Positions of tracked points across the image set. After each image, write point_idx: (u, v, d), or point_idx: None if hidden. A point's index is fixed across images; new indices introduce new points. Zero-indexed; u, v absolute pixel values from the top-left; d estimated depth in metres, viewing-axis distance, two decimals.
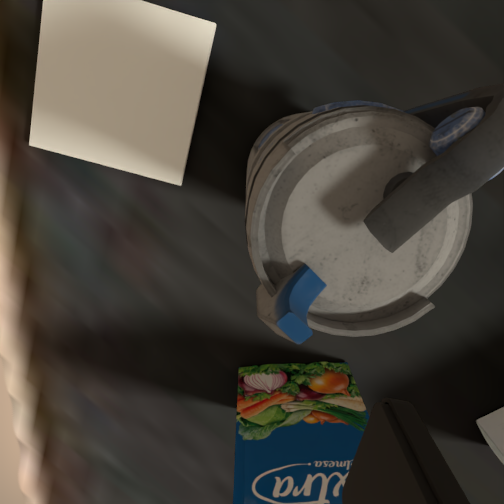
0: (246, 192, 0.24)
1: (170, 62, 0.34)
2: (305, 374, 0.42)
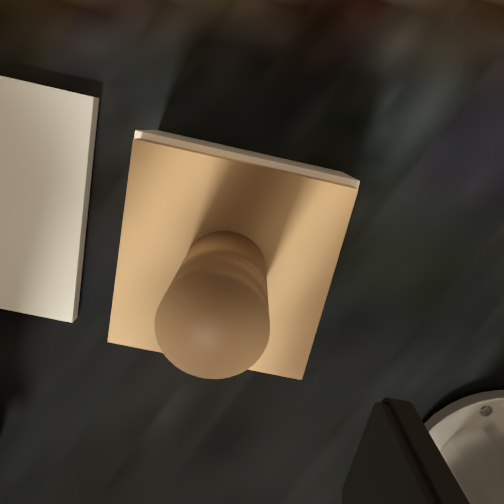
0: None
1: (12, 267, 0.25)
2: None
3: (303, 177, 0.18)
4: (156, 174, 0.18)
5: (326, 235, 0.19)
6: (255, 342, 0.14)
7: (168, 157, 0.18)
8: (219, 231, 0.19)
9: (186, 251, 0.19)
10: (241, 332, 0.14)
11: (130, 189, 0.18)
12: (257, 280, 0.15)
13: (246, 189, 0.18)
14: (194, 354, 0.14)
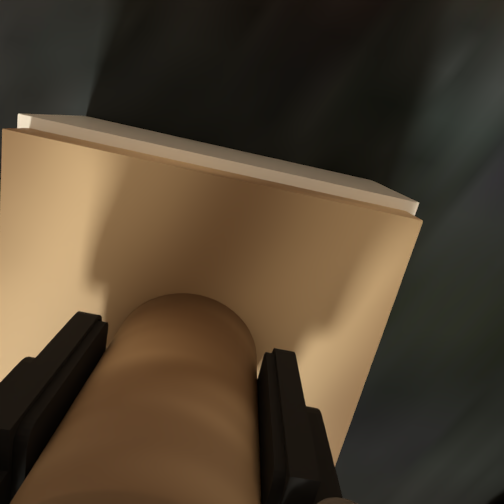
0: None
1: None
2: None
3: (323, 199, 0.10)
4: (52, 195, 0.10)
5: (362, 300, 0.11)
6: None
7: (72, 162, 0.10)
8: (172, 295, 0.11)
9: (116, 328, 0.11)
10: None
11: (6, 222, 0.10)
12: (235, 448, 0.07)
13: (219, 220, 0.10)
14: None
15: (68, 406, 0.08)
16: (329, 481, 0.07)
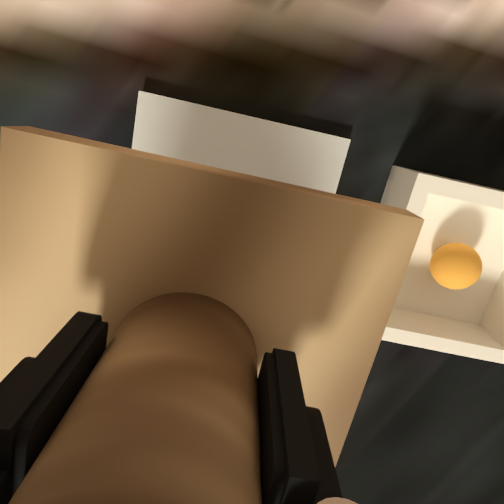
0: None
1: None
2: None
3: (324, 198, 0.10)
4: (51, 193, 0.10)
5: (363, 299, 0.11)
6: None
7: (71, 161, 0.10)
8: (172, 294, 0.11)
9: (116, 327, 0.11)
10: None
11: (5, 221, 0.10)
12: (235, 448, 0.07)
13: (219, 219, 0.10)
14: None
15: (68, 406, 0.08)
16: (329, 481, 0.07)
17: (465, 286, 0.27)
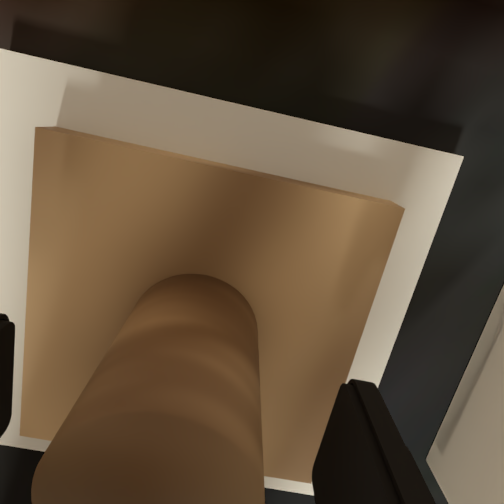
0: None
1: None
2: None
3: (317, 190, 0.11)
4: (77, 185, 0.11)
5: (352, 280, 0.12)
6: None
7: (95, 157, 0.11)
8: (183, 275, 0.12)
9: (132, 305, 0.12)
10: None
11: (36, 210, 0.11)
12: (240, 392, 0.08)
13: (224, 208, 0.11)
14: None
15: None
16: None
17: None
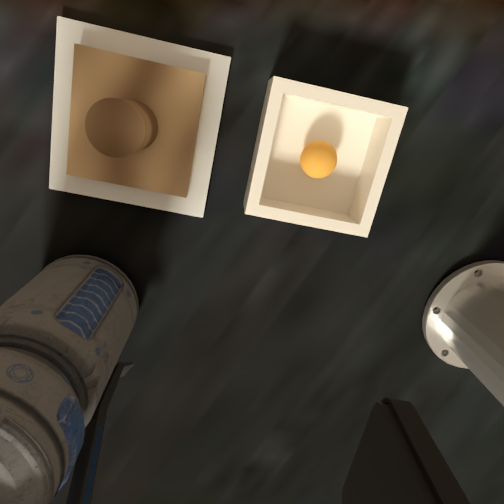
0: (4, 325, 0.25)
1: None
2: None
3: None
4: (89, 65, 0.32)
5: (190, 102, 0.33)
6: (136, 135, 0.28)
7: (95, 54, 0.32)
8: (128, 100, 0.33)
9: None
10: (129, 130, 0.28)
11: (74, 74, 0.32)
12: (139, 109, 0.29)
13: (141, 74, 0.32)
14: (106, 143, 0.28)
15: None
16: None
17: (323, 173, 0.34)
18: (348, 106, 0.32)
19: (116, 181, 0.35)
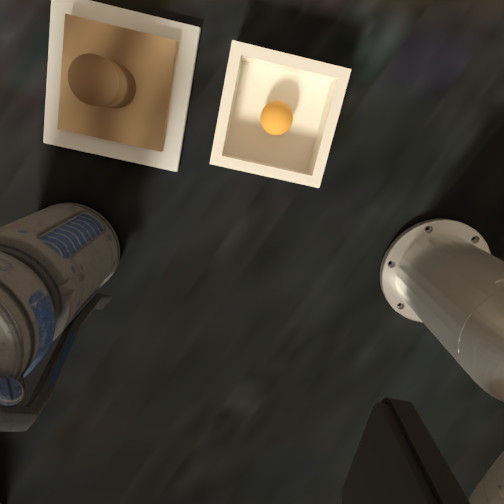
0: None
1: None
2: None
3: (149, 34, 0.37)
4: (77, 32, 0.37)
5: (164, 66, 0.38)
6: (111, 86, 0.33)
7: (82, 23, 0.37)
8: None
9: None
10: (104, 81, 0.33)
11: (64, 40, 0.37)
12: (115, 65, 0.34)
13: (122, 40, 0.38)
14: (85, 92, 0.33)
15: None
16: None
17: (279, 129, 0.39)
18: (298, 67, 0.36)
19: (100, 135, 0.40)
